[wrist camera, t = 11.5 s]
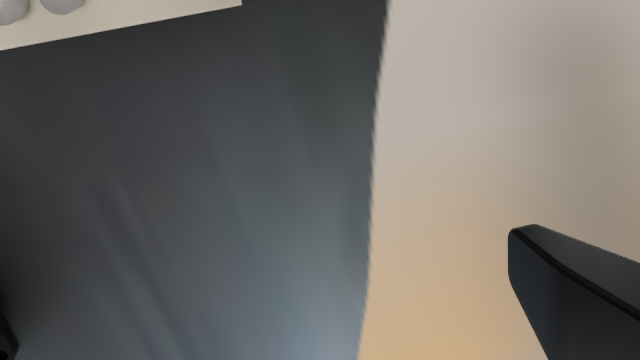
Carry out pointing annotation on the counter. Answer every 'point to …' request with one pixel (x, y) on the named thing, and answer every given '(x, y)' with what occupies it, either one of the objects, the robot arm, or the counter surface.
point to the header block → (88, 16)
